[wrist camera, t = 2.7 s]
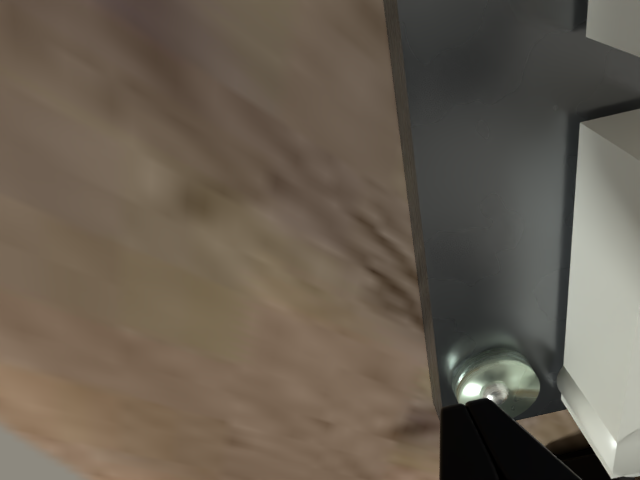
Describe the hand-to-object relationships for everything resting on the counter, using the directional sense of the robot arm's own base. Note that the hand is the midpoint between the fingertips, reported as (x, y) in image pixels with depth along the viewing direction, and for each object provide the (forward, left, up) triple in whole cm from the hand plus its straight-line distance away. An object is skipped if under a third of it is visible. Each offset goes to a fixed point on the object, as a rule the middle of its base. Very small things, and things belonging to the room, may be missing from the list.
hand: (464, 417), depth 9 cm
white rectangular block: (-3, -6, -6) cm, 9 cm away
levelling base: (+3, -7, -8) cm, 11 cm away
